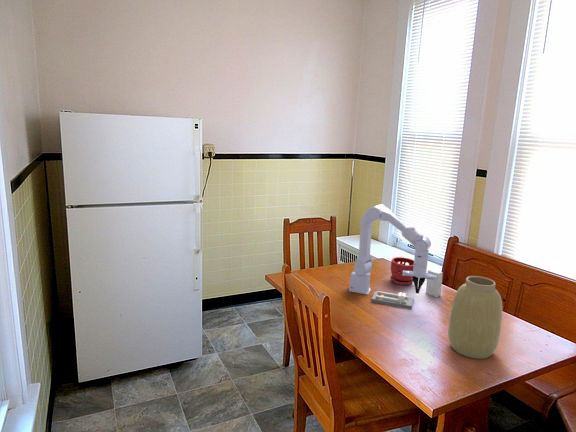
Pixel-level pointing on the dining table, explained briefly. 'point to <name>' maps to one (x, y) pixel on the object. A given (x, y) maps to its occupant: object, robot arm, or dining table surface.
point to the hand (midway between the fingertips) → (417, 292)
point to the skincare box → (434, 283)
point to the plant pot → (401, 270)
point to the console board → (392, 300)
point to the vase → (476, 318)
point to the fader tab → (402, 296)
